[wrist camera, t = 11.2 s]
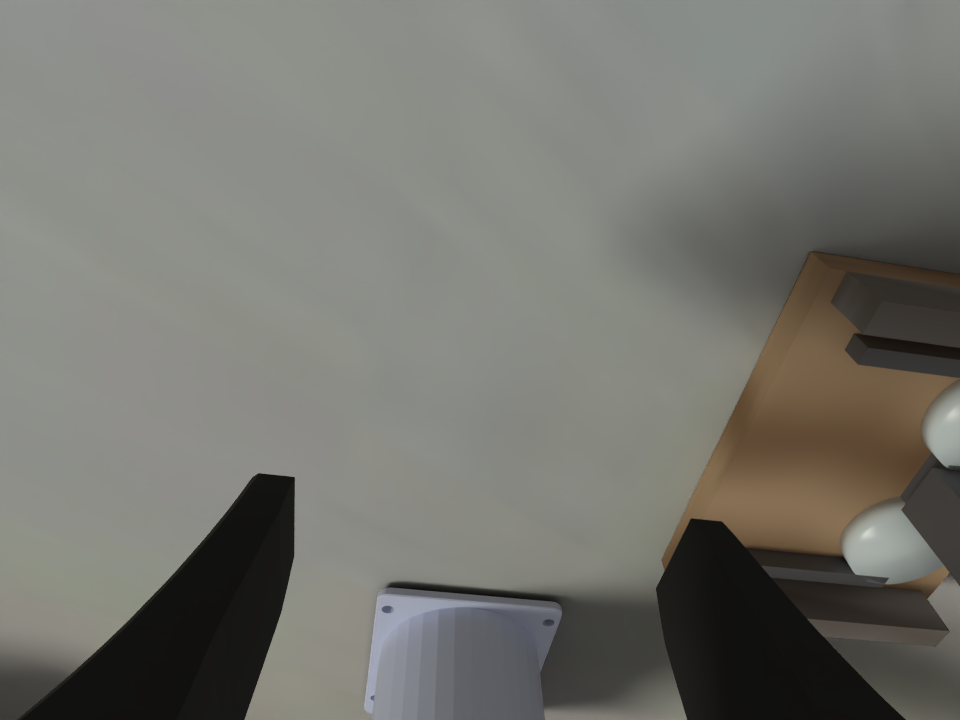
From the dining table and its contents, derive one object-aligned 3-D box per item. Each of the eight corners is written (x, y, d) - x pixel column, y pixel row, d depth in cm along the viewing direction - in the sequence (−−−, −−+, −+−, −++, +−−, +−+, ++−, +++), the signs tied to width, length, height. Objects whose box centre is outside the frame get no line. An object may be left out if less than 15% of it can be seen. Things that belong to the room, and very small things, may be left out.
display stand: (902, 583, 27) (946, 647, 25) (661, 560, 26) (682, 624, 24) (1135, 301, 20) (1231, 352, 17) (810, 251, 19) (864, 298, 16)
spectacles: (912, 574, 25) (996, 693, 21) (727, 557, 24) (779, 676, 20) (1083, 365, 20) (1241, 471, 16) (853, 333, 19) (958, 437, 15)
